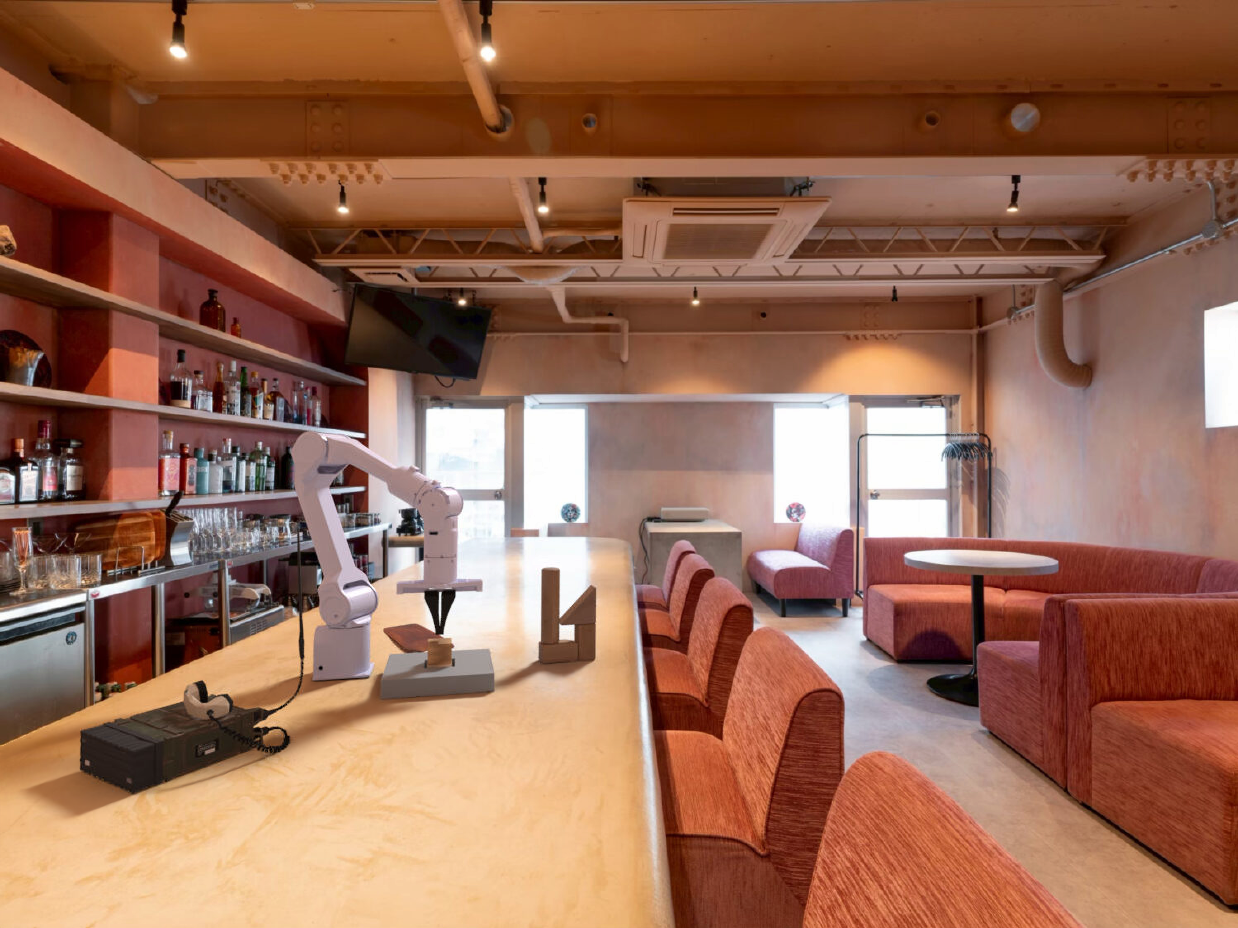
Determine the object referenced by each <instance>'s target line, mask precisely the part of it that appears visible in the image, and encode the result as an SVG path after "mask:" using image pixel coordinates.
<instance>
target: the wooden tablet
mask: <svg viewBox="0 0 1238 928" xmlns="http://www.w3.org/2000/svg"><path fill="white" fill-rule="evenodd" d="M382 632H383V633H384V634H386V635H387V636H388V637H390V638H391V639H393V640H394V641H395V642H396V644H398V645H399V647H401V648H402V649H403V650H404V651H405V652H406V653H420V652H428V639H438V638H444V637H443V635H435V631H433V630H431V629H429V628H428V627H426V626H423V625H421V624H420V623H419V624H418V623H408V624H407V623H406V624H402V625H401V624H400V625H396V626H395V625H394V626H388V627H384V628H383V631H382ZM454 648H455V645H454V644H453V643H452V649H454Z"/></svg>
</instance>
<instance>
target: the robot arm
mask: <svg viewBox="0 0 1238 928" xmlns="http://www.w3.org/2000/svg"><path fill="white" fill-rule="evenodd" d="M290 455H291V458H292V460H293V463H294V464H293V465H294V481H293V483H294V489H295V493H296V496H297V499H298V501H299V505H300V508H301V511H302V513H303V514H302V515H303V517H304V519H305V523H306V526H307V529H308V532H309V535H310V538H311V541H312V544H313V547H314V550H315V554H316V556H317V560H318V563H319V564H320V568H321V571H322V574H323V579H322V581H321V583H319V586H318V588H317V590H316V591H317V595H318V597H319V598H318V599H319V605H318V610H319V615H320V617H321V619H322V621H323V622H324V623H325V624H320V625H317V626H316V627H315V631H314V635H313V647H312V648H313V650H312V651H313V653H312V656H313V657H312V659H313V661H312V662H313V663H312V665H313V666H312V677H311V678H312V679H311V680H312V681H327V680H328V681H329V680H341V679H343V680H344V679H356V678H357V679H359V678H360V679H361V678H369V677H371V674H372V672H373V671H374V667H375V662H371V621H372V619H373V618H372V617H373V614H374V613H375V612H376V611H377V609H378V605H379V602H380V600H379V597H380V596H379V594H378V591H377V589H376V588H375V587H374V586H373V585H372V584H371V582H370V581H369V579H368V576H367V574H366V573H364V572H363V571H362V570H360V568H358V567H356V565H355V562H354V558H353V556H352V553H351V550H350V547H349V544H348V541H347V538H346V535H345V532H344V529H343V525H342V524H341V520H340V517H339V515H338V511H337V508H336V505H335V502H334V498H333V496H332V493H331V490H330V486H331V485H332V483H333V481H334V479H336V478H337V477H338V476H339V474H340V473H342V472H343V471H344V469H346V468H347V467H348V465H351V466H354V468H357V469H360V471H363V472H365V473H366V474H369V475H371V476H372V477H374V478H377V479H378V480H380V481H382V482H384V483H386V485H387V490H388V492H389V494H390V495H393V496H394V497H396V498H397V499H399V500H401V501H403V502H404V503H405V504H408V505H409V506H411V507H413V508H414V509H416V510H417V511H418V514H419V515H420V516H421V519H422V520H423V529H424V530H423V579H417V580H416V579H415V580H403V581H401V580H400V581H397V583H396V595H404V594H423V595H424V596H423V600H424V602H425V603H426V606H427V607H428V610H429V613H430V615H431V618H432V622H433V627H434V633H435V635H440V636H443V635H444V634H445V627H446V623H447V619H448V616H449V613H450V611H451V608H452V606H453V604H454V602H455V599H456V597H457V594H456V593H457V592H458V593H459V592H476V593H477V592H478V593H479V592H481V593H482V592H483V579H481V578H478V579H477V578H475V579H474V578H458V547H459V546H458V541H459V540H458V532H459V531H458V529H459V527H458V525H459V524H458V523H459V521H458V519H459V515H461V513H462V511H463V510H464V498H463V496H462V494H461V493H460V491H458V490H457V489H456V488H455V486H454V487H452V486H445V487H444V486H443V487H442V485H441V483H442V482H441V481H439V480H438V479H431V478H429V477H428V476H426V475H424V474H422V473H420V468H419V467H418V466H416V465H409V466H408V465H402V466H399V467H397V466H396V465H395V464H393V463H391V462H390V461H389V460H387V459H385V458H383V457H382V456H381V455H379V454H377V453H376V452H374V451H373V450H371V449H370V448H368V447H367V446H365V445H363V443H361V442H360V441H359V440H358V439H355V438H351V437H349V436H348V435H346V434H344V433H324V432H318V431H317V432H316V431H313V430H311V431H305V432H303V433H301V434H300V435H299V436H298V437H297V439H296V440H295V443H294V444H293V447H292V448H291V449H290Z"/></svg>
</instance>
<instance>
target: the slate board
mask: <svg viewBox="0 0 1238 928" xmlns="http://www.w3.org/2000/svg"><path fill="white" fill-rule="evenodd" d="M427 663H428V651H426V652H420V653H408V652H405V653H404V652H403V653H389V655H388V658H387V661H386V665H385V668H384V671H383V673H382V676H381V678H380V700H386V699H389V700H390V699H404V698H403V697H405V698H416V696H420V697H429V696H431V697H432V696H433V695H434V696H445V695H458V694H459V695H460V694H474V693H487V691H490V692H495V669H494V665H493V660H492V655H491V651H490V648H477V649H474V648H473V649H461V650H459V649H457V650H456V649H455V650H452V667H439V668H427Z"/></svg>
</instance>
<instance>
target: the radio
mask: <svg viewBox="0 0 1238 928" xmlns="http://www.w3.org/2000/svg"><path fill="white" fill-rule="evenodd" d="M296 525H297V526H296V541H297V543H296V544H297V546H296V547H297V548H296V549H297V554H296V555H297V577H298V579H297V580H298V582H297V583H298V587H297V588H298V618H299V619H298V621H299V623H298V624H299V633H298V634H299V635H298V653H299V659H300V661H299V662H300V663H299V664H300V666H299V668H300V670H299V681H298V685H297V689H296V690H295V692H294V694H293V695H292V696H291V698H289V699H288V700H287V701H286V702H285V703H284V704H281V705H280V706H279V707H276V708H272V709H269V710H268V709H266V708H263V707H259V706H258V707H251V708H243V707H239V706H238V705H234V700H233V699H232V698H231V696H230V695H229V694H228V693H221V694H213V693H211V694H209V693H208V692H209V690H208V689H207V688H208V687H207V684H206V682H205V681H204V680H203V679H202V680H198V681H195V682H192V683H191V684H188V685H187V686H186V687H185V689H184V691H183V700H182V701H180V702H176V703H172V704H169V705H166V706H161V707H158V708H154V709H151V710H146V711H144V712H141V713H137V714H133V715H131V716H129V717H126V718H122V717H119V718H115V719H114V720H113V721H112V722H111V721H108V722H104V723H102V724H101V725H97V726H93V727H89V728H84V729H81V730H80V731H79V732H80V733H79V734H80V737H79V738H80V739H79V742H80V746H79V755H80V757H79V764H80V765H79V771H82V772H83V773H88V775H89V776H91V775H92V776H93V777H94V778H98V779H99V780H103V782H107V783H109V784H110V785H114V787H119V788H120V790H122V789H123V790H125V791H126V792H129V793H130V794H134V793H137V792H139V791H143V790H144V789H147V788H149V787H152V786H157V785H160V784H163V782H166V783H168V782H171V781H174V778H175V777H178V776H182V775H186V774H188V773H191V772H194V771H197V770H200V769H203V768H206V767H208V766H210V765H211V764H215V763H217V762H220V761H224V760H226V759H229V758H231V757H234V756H236V755H238V754H239V753H241V754H242V753H246V752H248V751H251V750H252V749H256V750H257V751H258V752H259V751H260V752H264V753H267V754H269V753H270V754H272V753H273V754H275V753H277V752H280V753H281V752H282V751H284V750H285V749H287V748H288V746H289V744H291V735H288V730H287V729H285V728H283V727H281V726H269V727H268V726H266V725H265V726H262V727H260V726H257V725H258V724H259V723H261V722H263V721H267V719H268V718H269V717H270V716H271V715H274V714H276V713H277V712H278V711H281V710H283V709H284V708H286V707H287V706H288V705H289V704H290V703H292V702H293V701H294V700H295V699H296V697H298V694H299V692H300V690H301V687H302V685H303V684H302V683H303V678H304V669H305V668H304V667H305V666H304V665H305V663H304V661H305V639H304V638H305V635H304V622H303V621H304V620H303V600H302V599H303V597H302V596H303V593H302V592H303V591H302V570H301V569H302V568H301V566H302V564H301V540H300V539H301V535H300V522H299V519H297V520H296ZM255 726H256V727H255ZM275 730H280V731H281V732H282V733H283V735H284V737H283V738H282V740H283V741H282V742H281V744H280V745H269V746H267V745H265V744H264V736H266V735H269V733H270V731H275Z"/></svg>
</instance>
